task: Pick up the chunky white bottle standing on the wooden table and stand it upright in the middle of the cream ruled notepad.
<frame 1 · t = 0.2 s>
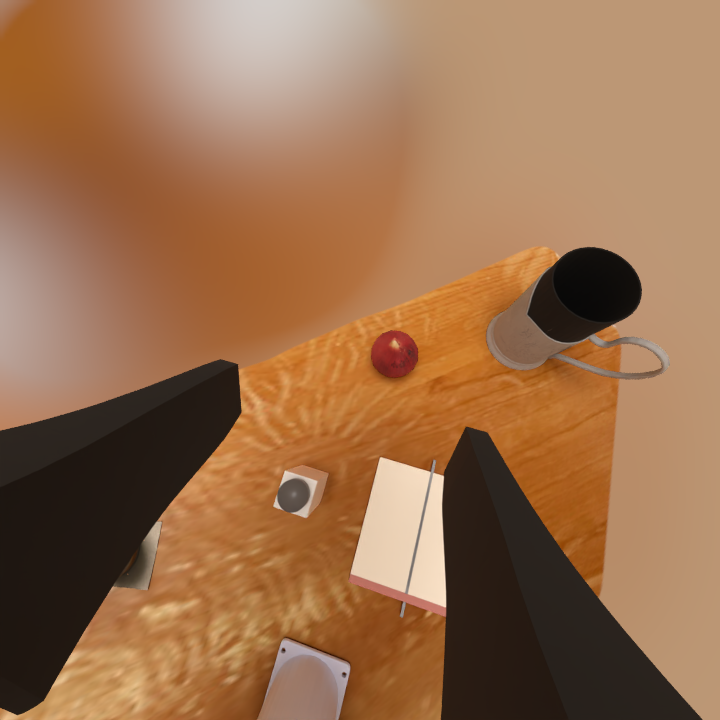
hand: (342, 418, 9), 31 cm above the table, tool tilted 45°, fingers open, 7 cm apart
onion: (392, 361, 41), on the table
glass holder: (533, 353, 40), on the table
white bottle: (311, 483, 38), on the table
notepad: (418, 532, 36), on the table
condiment: (125, 550, 37), on the table
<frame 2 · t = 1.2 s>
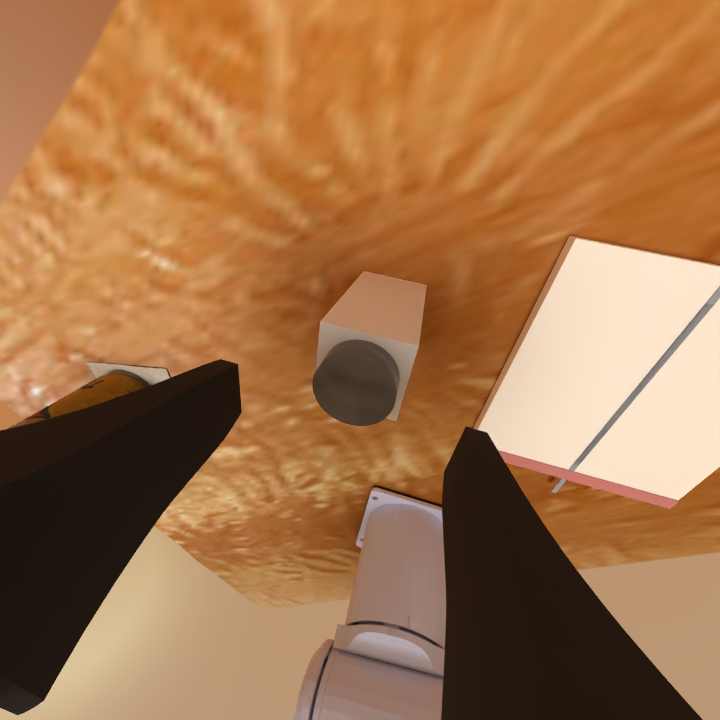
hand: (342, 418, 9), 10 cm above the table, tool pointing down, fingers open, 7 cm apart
white bottle: (388, 307, 18), on the table
notepad: (623, 389, 17), on the table
condiment: (146, 397, 28), on the table
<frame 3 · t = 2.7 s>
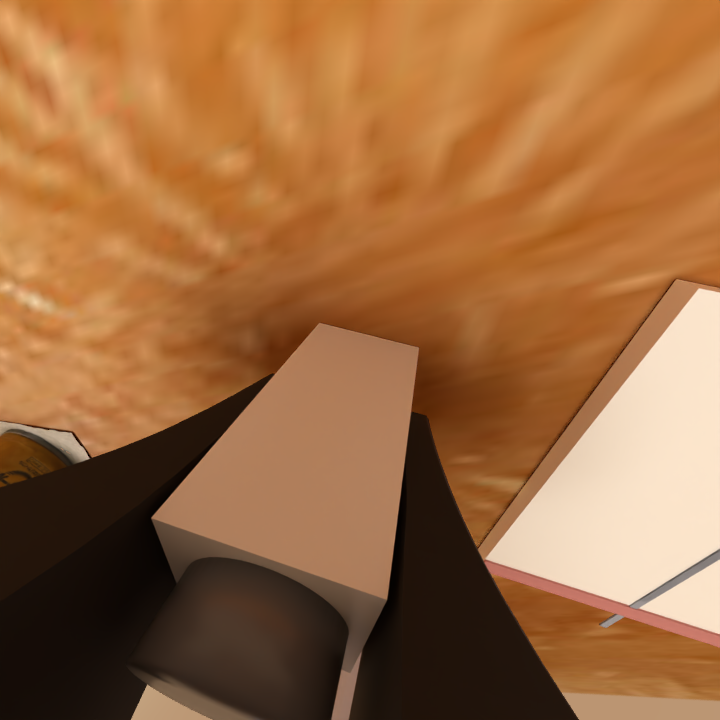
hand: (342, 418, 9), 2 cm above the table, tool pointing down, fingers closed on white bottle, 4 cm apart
white bottle: (360, 376, 11), on the table, touching gripper
condiment: (59, 460, 21), on the table
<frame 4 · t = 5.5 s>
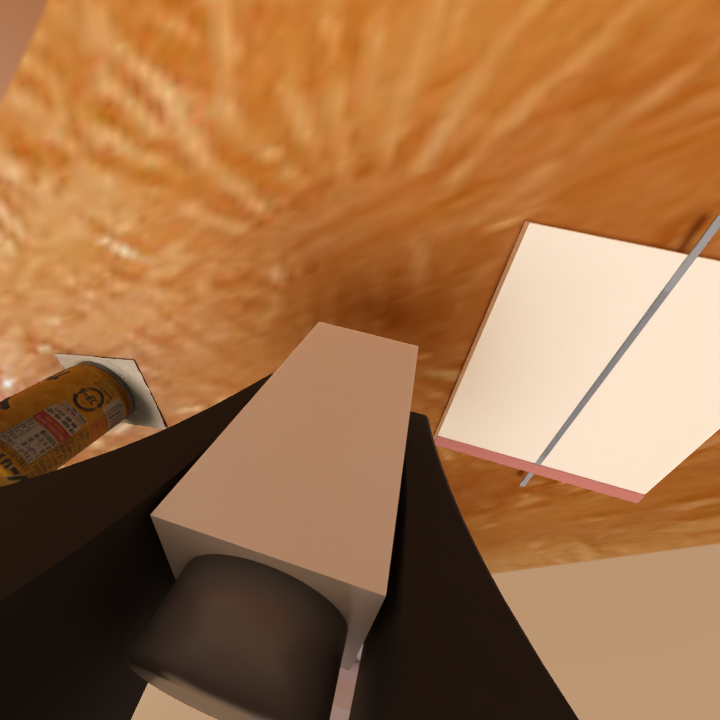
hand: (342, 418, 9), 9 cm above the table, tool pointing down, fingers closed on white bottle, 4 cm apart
white bottle: (359, 375, 11), point 7 cm above the table, touching gripper
notepad: (586, 380, 17), on the table
condiment: (116, 389, 27), on the table
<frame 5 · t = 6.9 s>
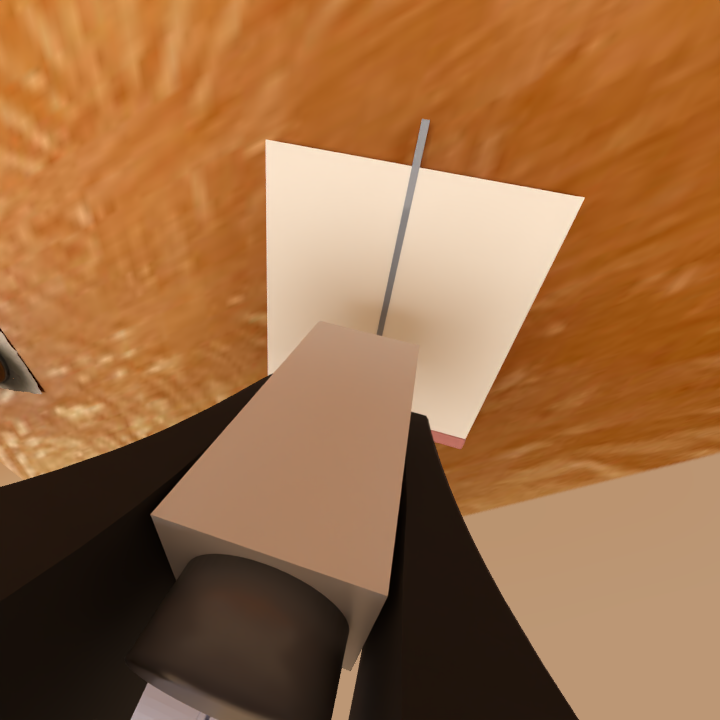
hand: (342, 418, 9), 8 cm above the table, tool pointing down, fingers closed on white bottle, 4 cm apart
white bottle: (360, 374, 11), point 6 cm above the table, touching gripper
notepad: (384, 317, 16), on the table
when the fingers open (4 cm above the table, at t = 8.1 s): white bottle stays where it is, resting on notepad.
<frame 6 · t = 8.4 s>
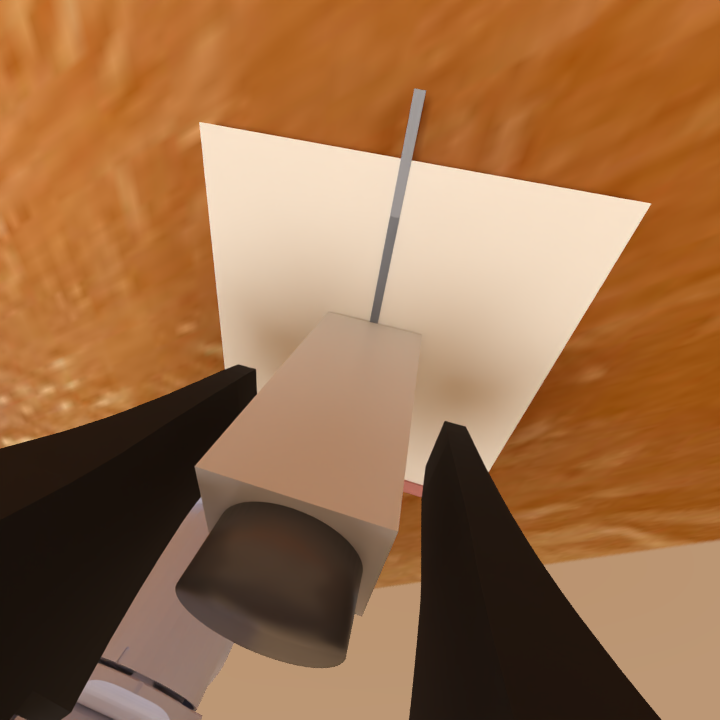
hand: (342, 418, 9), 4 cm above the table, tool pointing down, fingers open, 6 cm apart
white bottle: (366, 362, 12), point 1 cm above the table, touching notepad
notepad: (369, 353, 13), on the table
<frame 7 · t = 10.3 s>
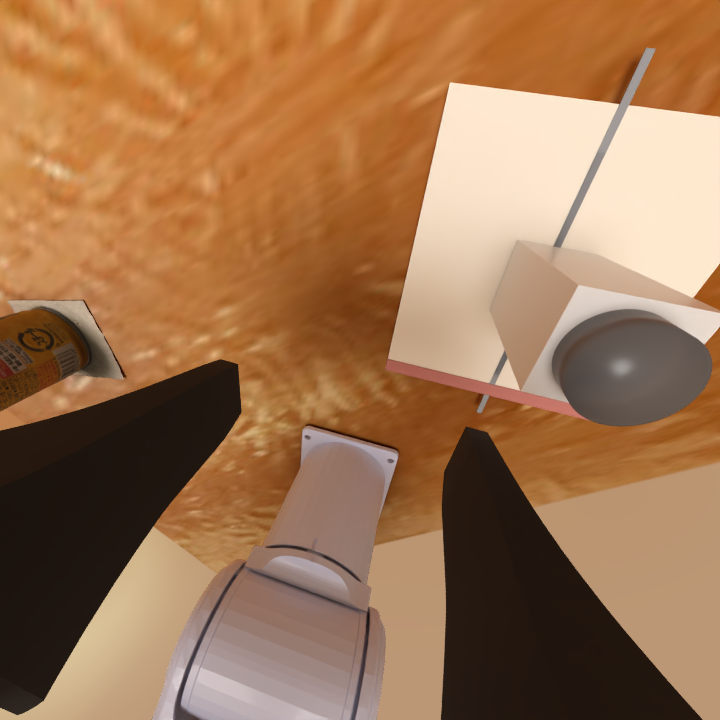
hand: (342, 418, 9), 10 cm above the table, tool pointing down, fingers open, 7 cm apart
white bottle: (539, 284, 15), point 1 cm above the table, touching notepad
notepad: (534, 281, 16), on the table
condiment: (72, 338, 27), on the table
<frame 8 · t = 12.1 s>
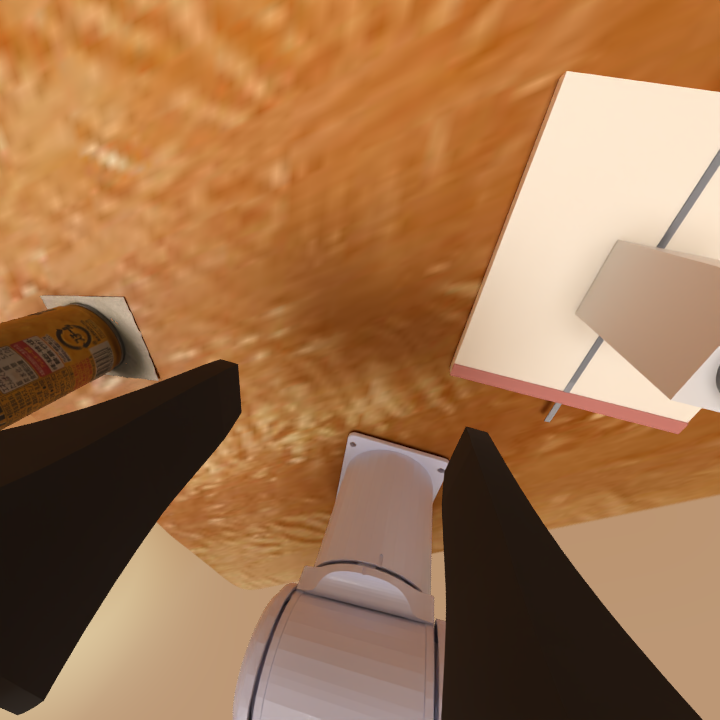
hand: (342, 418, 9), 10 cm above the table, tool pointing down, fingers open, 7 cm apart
white bottle: (635, 287, 14), point 1 cm above the table, touching notepad
notepad: (624, 284, 15), on the table
condiment: (106, 337, 25), on the table
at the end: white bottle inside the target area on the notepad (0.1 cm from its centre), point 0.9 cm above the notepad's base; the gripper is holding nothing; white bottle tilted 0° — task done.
